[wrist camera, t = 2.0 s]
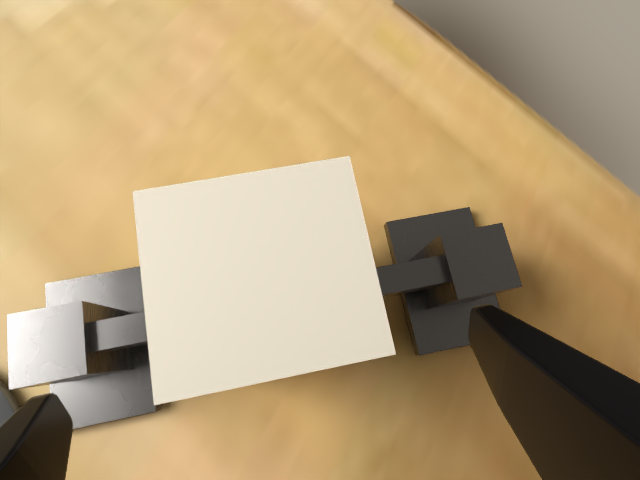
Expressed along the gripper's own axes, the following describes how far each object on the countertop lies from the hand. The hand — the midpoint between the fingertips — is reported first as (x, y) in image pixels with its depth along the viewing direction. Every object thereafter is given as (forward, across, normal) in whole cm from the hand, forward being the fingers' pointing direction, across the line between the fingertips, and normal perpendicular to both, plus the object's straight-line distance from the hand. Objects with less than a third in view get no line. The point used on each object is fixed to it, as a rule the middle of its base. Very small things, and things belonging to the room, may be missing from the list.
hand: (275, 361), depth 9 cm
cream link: (+8, 0, +5) cm, 10 cm away
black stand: (+8, 0, +5) cm, 10 cm away
